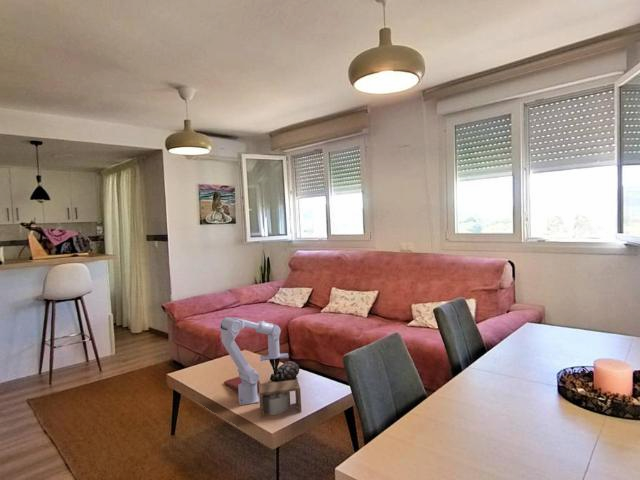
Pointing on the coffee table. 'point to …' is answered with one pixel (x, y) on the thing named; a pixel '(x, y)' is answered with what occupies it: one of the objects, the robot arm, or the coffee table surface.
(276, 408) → the lumpy-topped squat cylinder
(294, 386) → the walnut shelf
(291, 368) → the pine cone
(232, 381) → the carton
